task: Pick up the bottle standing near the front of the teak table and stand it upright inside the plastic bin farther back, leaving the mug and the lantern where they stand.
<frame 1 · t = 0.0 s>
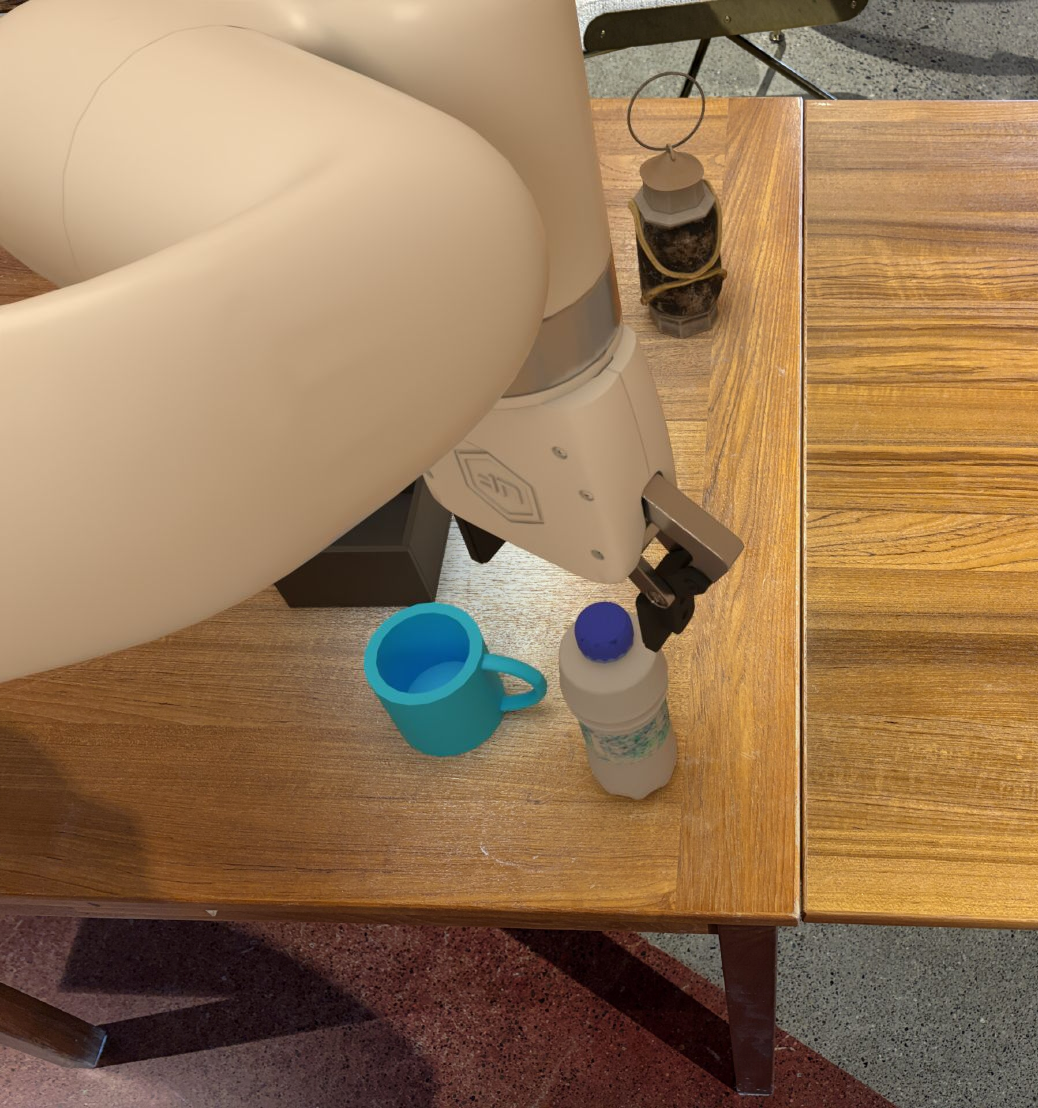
hand: (581, 582, 50), 30 cm above the table, tool pointing down, fingers open, 9 cm apart
bottle: (636, 766, 77), on the table
bin: (376, 547, 89), on the table
mug: (477, 708, 80), on the table
lantern: (684, 316, 104), on the table
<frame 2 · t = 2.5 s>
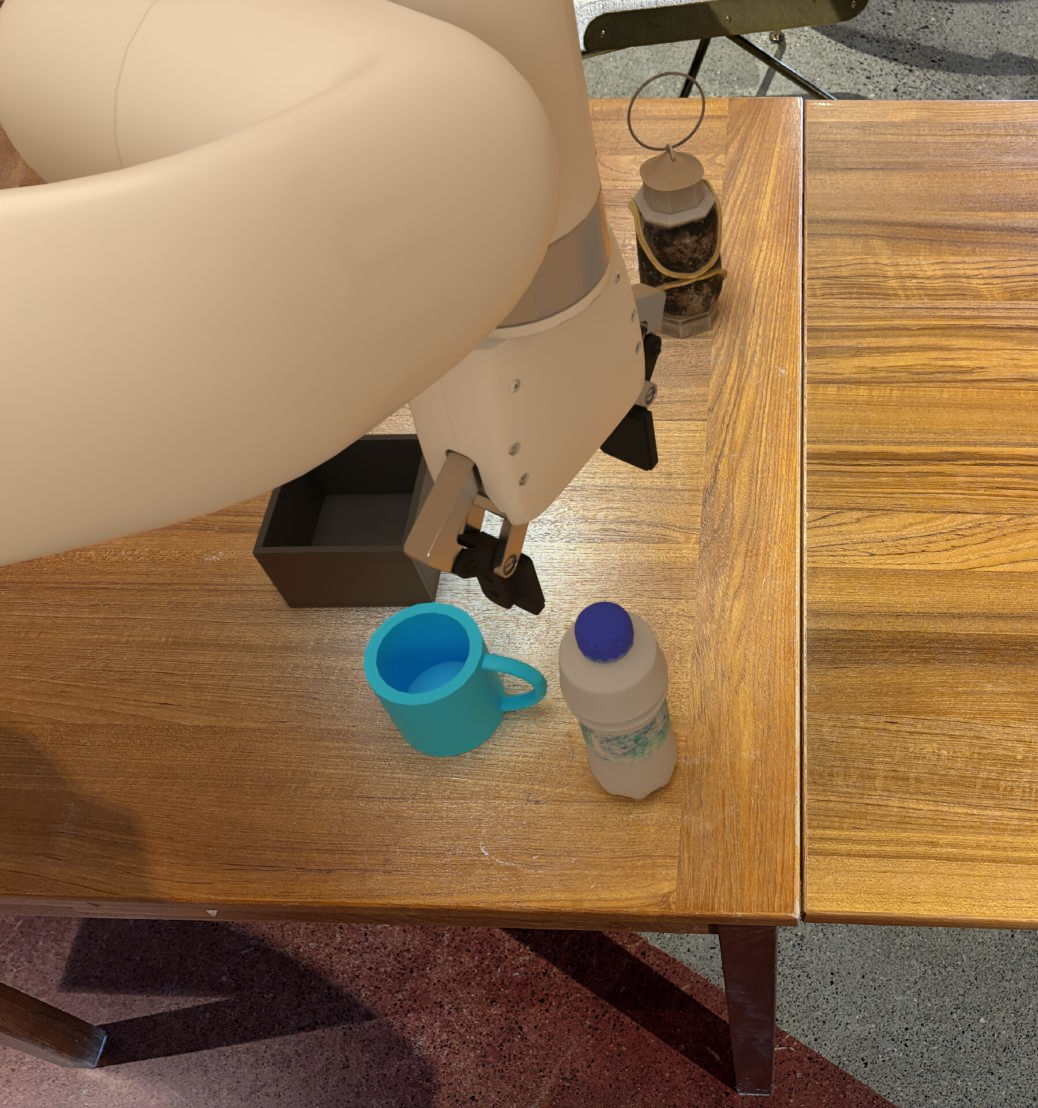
hand: (575, 525, 52), 30 cm above the table, tool pointing down, fingers open, 9 cm apart
nothing on the table moved.
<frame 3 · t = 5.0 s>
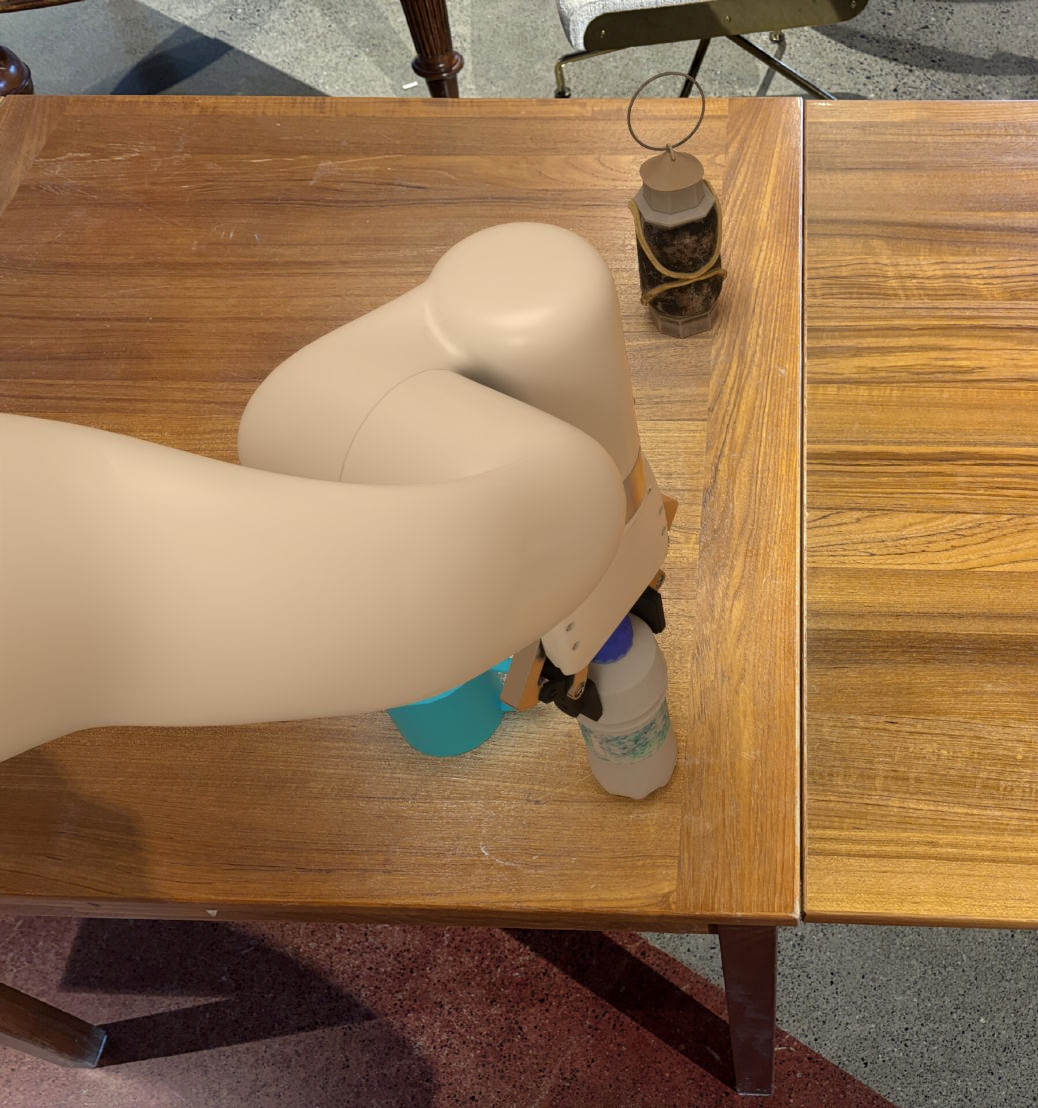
hand: (611, 662, 65), 15 cm above the table, tool pointing down, fingers closed on bottle, 6 cm apart
bottle: (636, 766, 77), on the table, touching gripper
everything else where it was.
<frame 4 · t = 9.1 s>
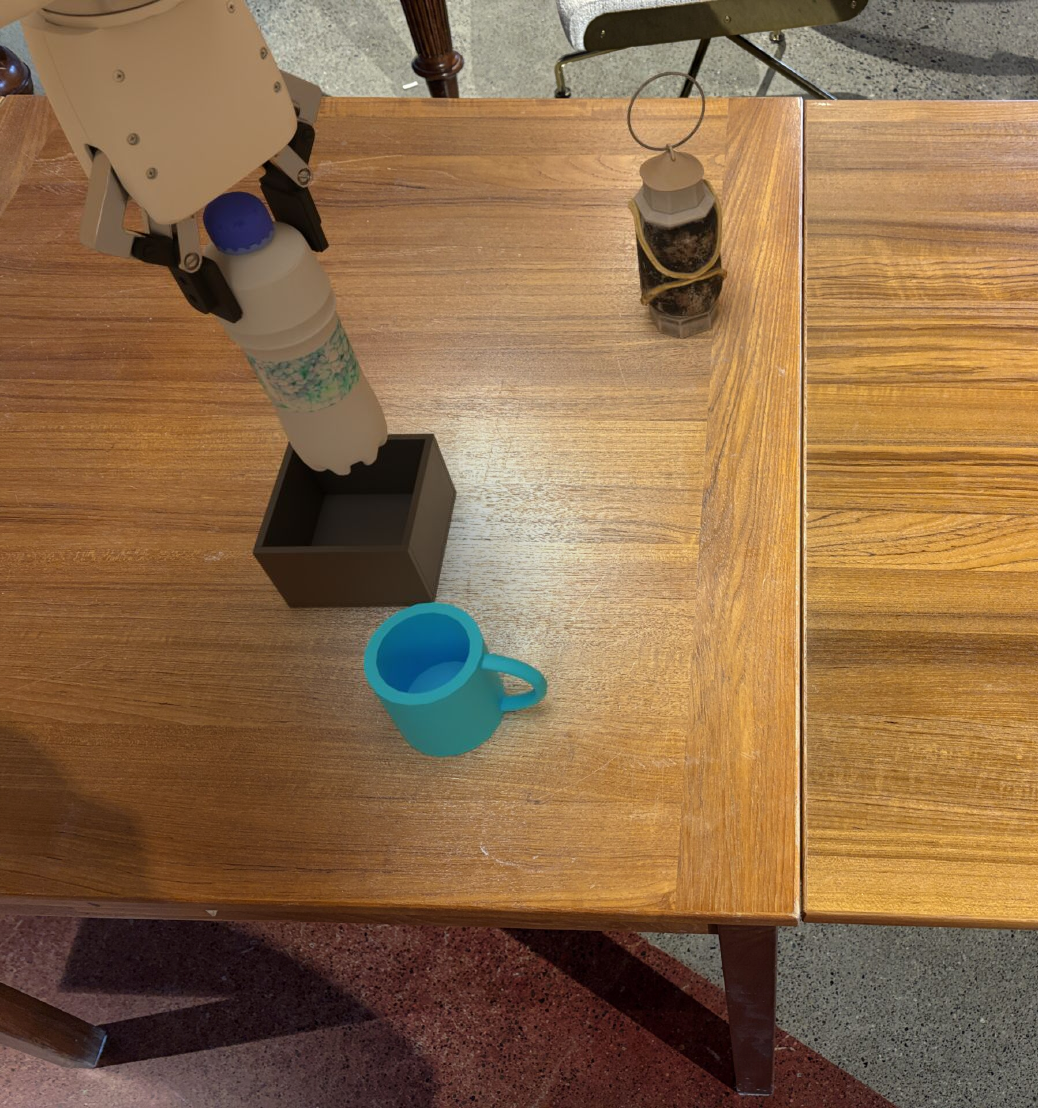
hand: (264, 274, 61), 31 cm above the table, tool pointing down, fingers closed on bottle, 6 cm apart
bottle: (348, 450, 73), point 16 cm above the table, touching gripper
everything else where it was.
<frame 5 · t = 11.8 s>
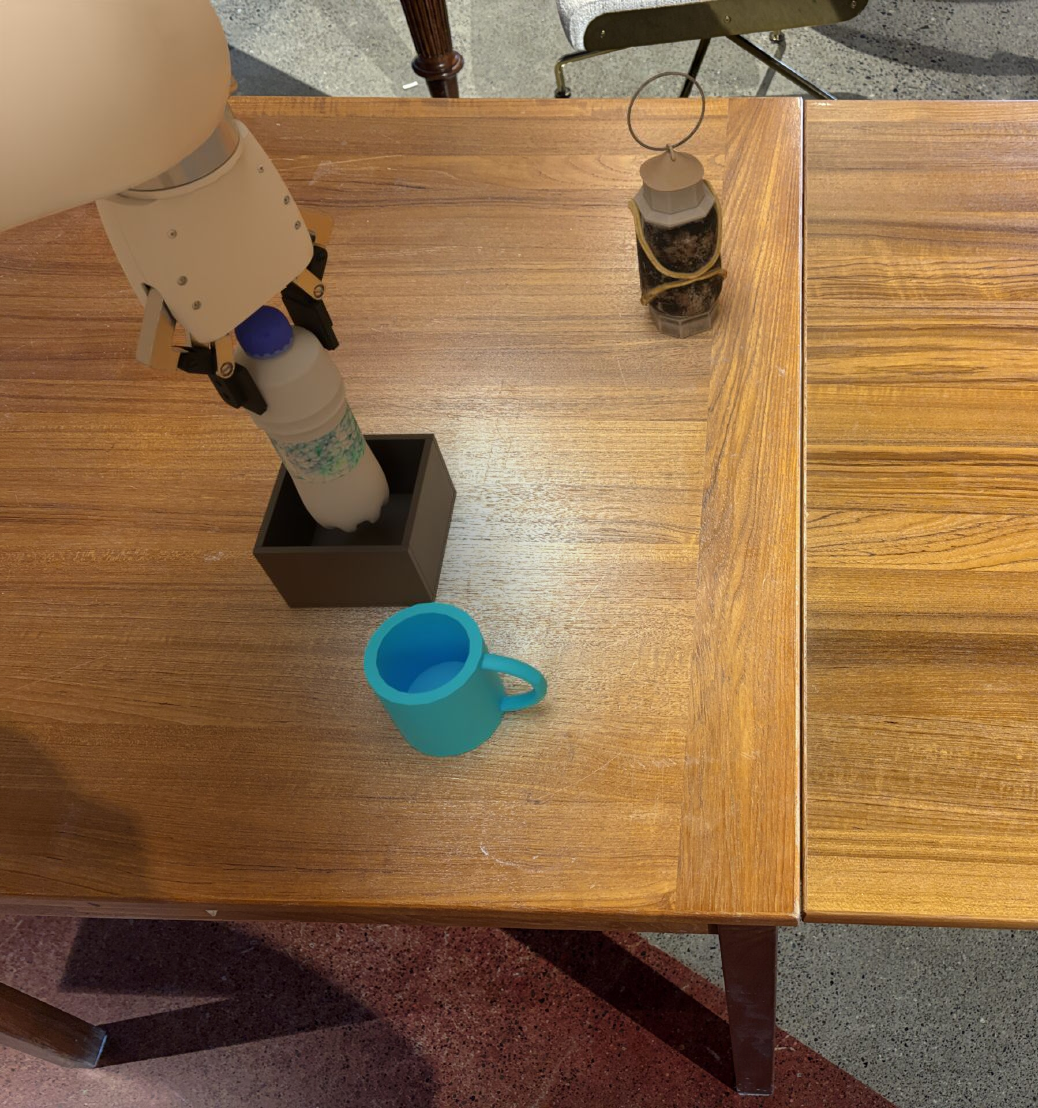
hand: (284, 371, 72), 20 cm above the table, tool pointing down, fingers closed on bottle, 6 cm apart
bottle: (355, 509, 84), point 5 cm above the table, touching gripper
everything else where it was.
when the fingers open (16 cm above the table, at t = 13.5 s): bottle stays where it is, resting on bin.
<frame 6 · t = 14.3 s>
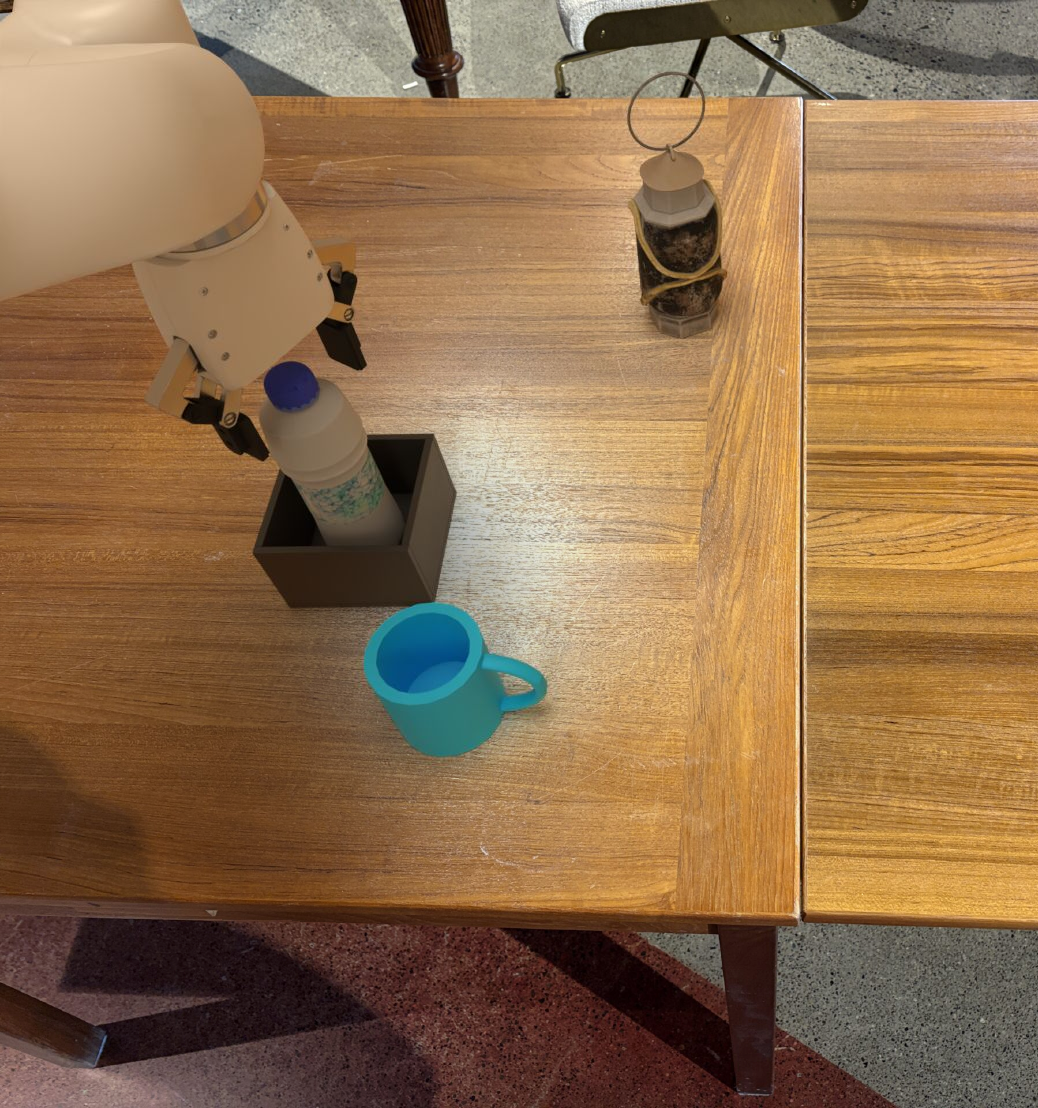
hand: (301, 405, 75), 17 cm above the table, tool pointing down, fingers open, 9 cm apart
bottle: (373, 546, 88), resting on bin
everything else where it was.
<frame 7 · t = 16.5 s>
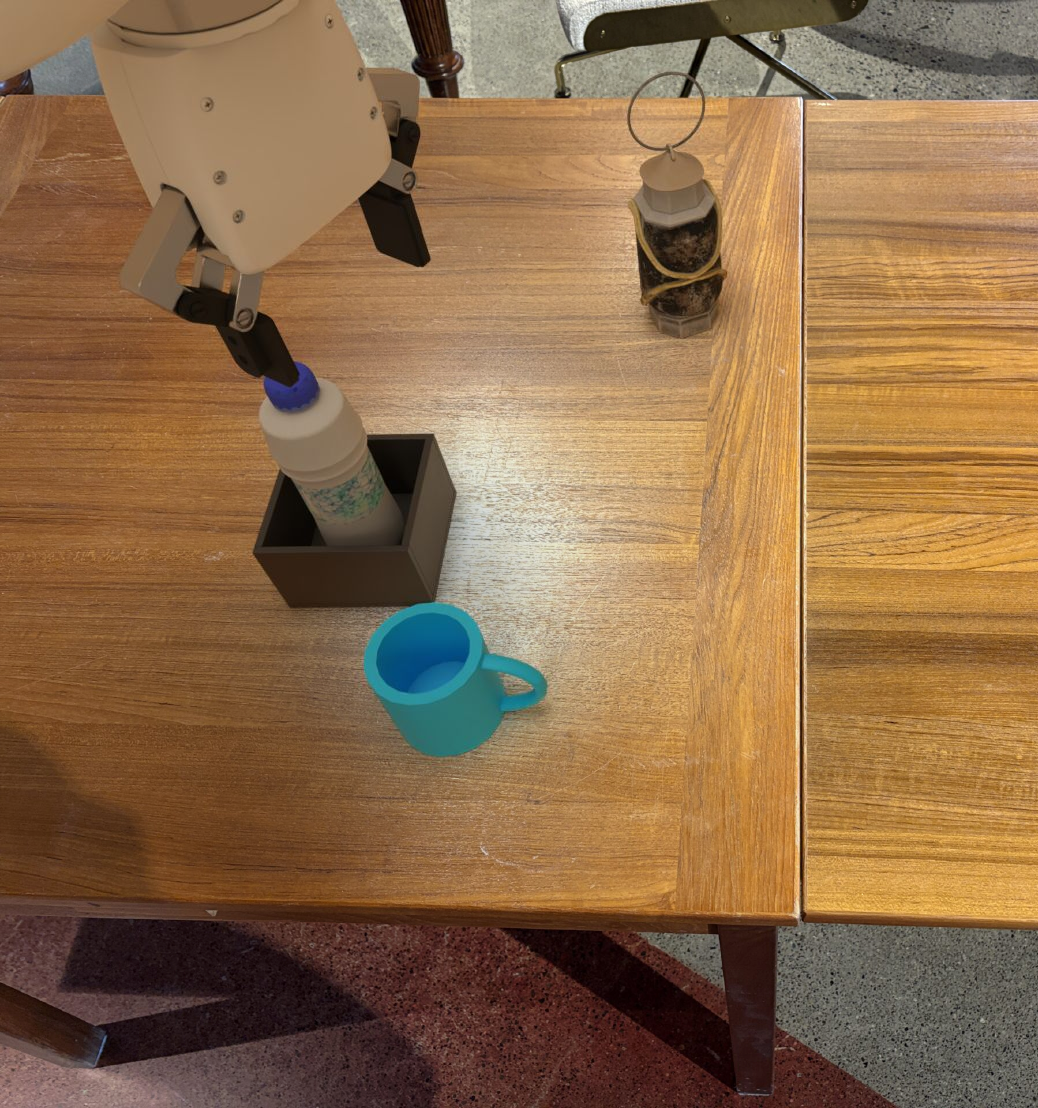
hand: (342, 313, 53), 35 cm above the table, tool pointing down, fingers open, 9 cm apart
nothing on the table moved.
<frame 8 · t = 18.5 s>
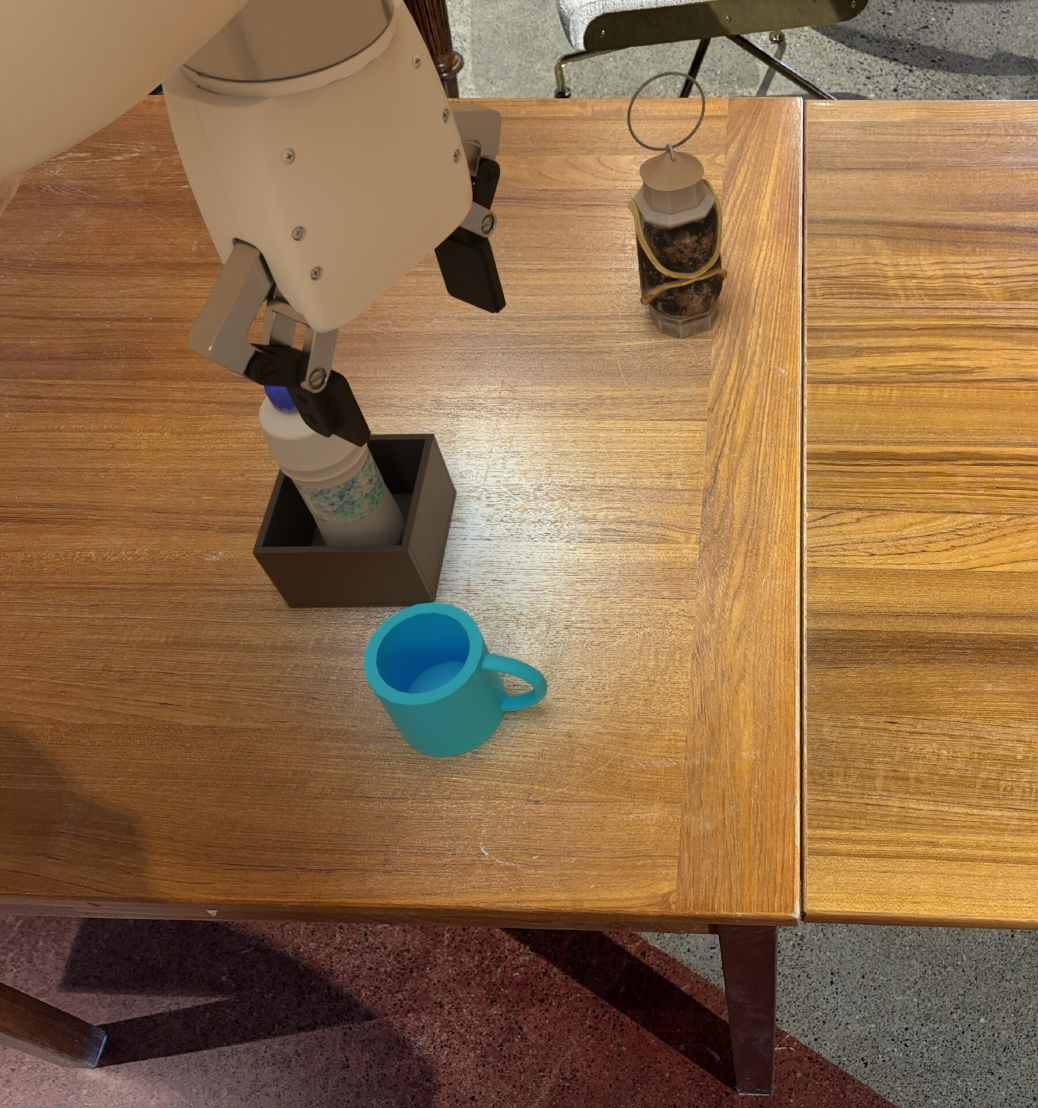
hand: (413, 363, 50), 36 cm above the table, tool pointing down, fingers open, 9 cm apart
nothing on the table moved.
at the end: bottle inside the target area in the bin (0.2 cm from its centre), point 0.4 cm above the bin's base; bottle tilted 0°; lantern moved 0.2 cm from its start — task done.
